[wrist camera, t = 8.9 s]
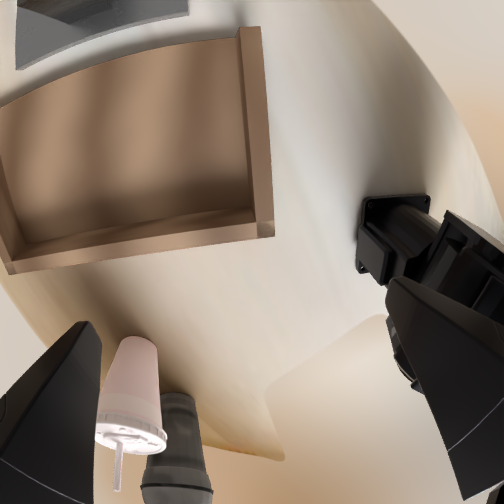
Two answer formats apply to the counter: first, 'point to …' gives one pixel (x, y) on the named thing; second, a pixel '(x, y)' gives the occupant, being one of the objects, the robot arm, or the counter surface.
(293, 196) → the counter surface
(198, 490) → the beverage cup
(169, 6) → the cover plate
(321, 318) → the counter surface
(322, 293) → the counter surface
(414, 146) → the counter surface
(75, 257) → the walnut box
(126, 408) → the smoothie
